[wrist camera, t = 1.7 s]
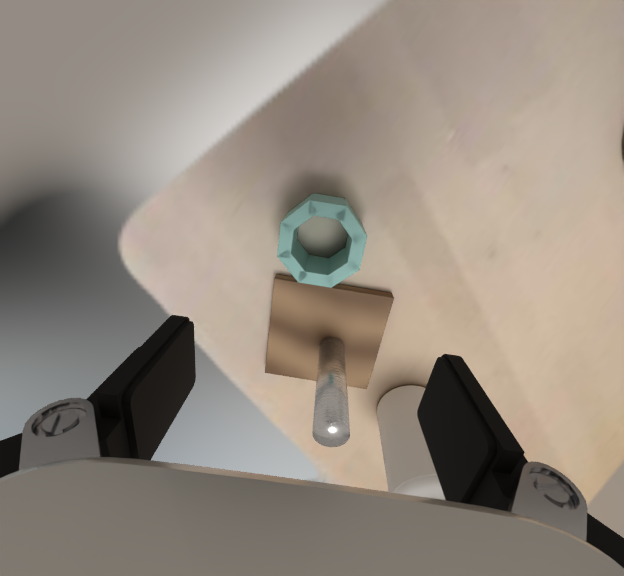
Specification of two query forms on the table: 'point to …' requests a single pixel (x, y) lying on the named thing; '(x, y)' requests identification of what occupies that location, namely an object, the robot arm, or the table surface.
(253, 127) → the table surface
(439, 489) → the pill bottle
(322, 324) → the board
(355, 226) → the ring
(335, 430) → the grey metal peg
